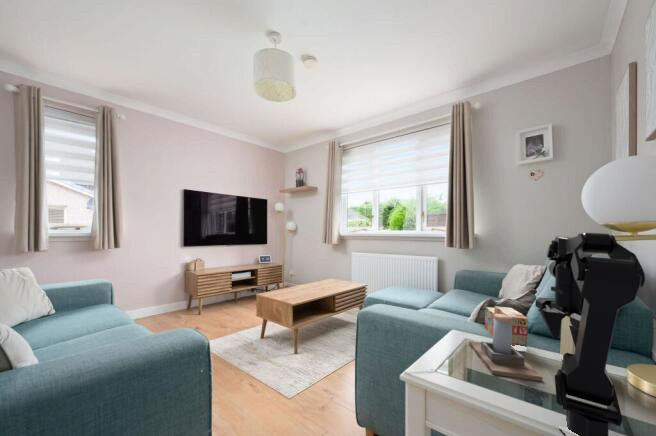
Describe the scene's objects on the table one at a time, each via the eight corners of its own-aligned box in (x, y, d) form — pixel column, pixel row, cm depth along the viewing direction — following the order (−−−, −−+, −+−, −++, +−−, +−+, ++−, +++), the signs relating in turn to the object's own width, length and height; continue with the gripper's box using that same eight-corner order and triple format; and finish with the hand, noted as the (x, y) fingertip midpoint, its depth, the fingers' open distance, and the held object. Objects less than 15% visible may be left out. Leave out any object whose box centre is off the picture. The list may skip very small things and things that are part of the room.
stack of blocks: (484, 328, 117) (485, 299, 117) (500, 330, 116) (501, 301, 116) (507, 351, 96) (508, 316, 96) (527, 353, 94) (528, 318, 95)
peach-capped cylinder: (511, 362, 84) (512, 320, 84) (492, 357, 87) (493, 316, 87) (510, 356, 88) (512, 316, 88) (492, 351, 91) (494, 312, 91)
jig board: (542, 381, 77) (542, 368, 77) (492, 374, 79) (492, 361, 79) (508, 349, 96) (508, 338, 96) (469, 344, 99) (469, 334, 99)
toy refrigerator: (602, 376, 81) (604, 305, 82) (571, 370, 84) (574, 302, 84) (586, 363, 89) (589, 299, 89) (559, 358, 91) (561, 296, 92)
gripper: (641, 298, 59) (639, 370, 59) (578, 281, 78) (576, 335, 77) (582, 293, 61) (580, 363, 61) (535, 277, 80) (533, 331, 79)
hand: (567, 346), depth 70 cm, fingers open, 9 cm apart
